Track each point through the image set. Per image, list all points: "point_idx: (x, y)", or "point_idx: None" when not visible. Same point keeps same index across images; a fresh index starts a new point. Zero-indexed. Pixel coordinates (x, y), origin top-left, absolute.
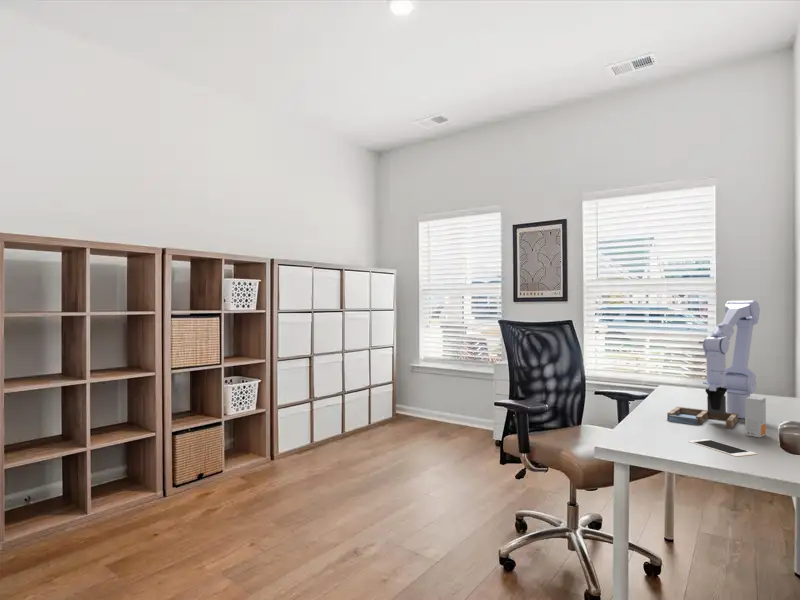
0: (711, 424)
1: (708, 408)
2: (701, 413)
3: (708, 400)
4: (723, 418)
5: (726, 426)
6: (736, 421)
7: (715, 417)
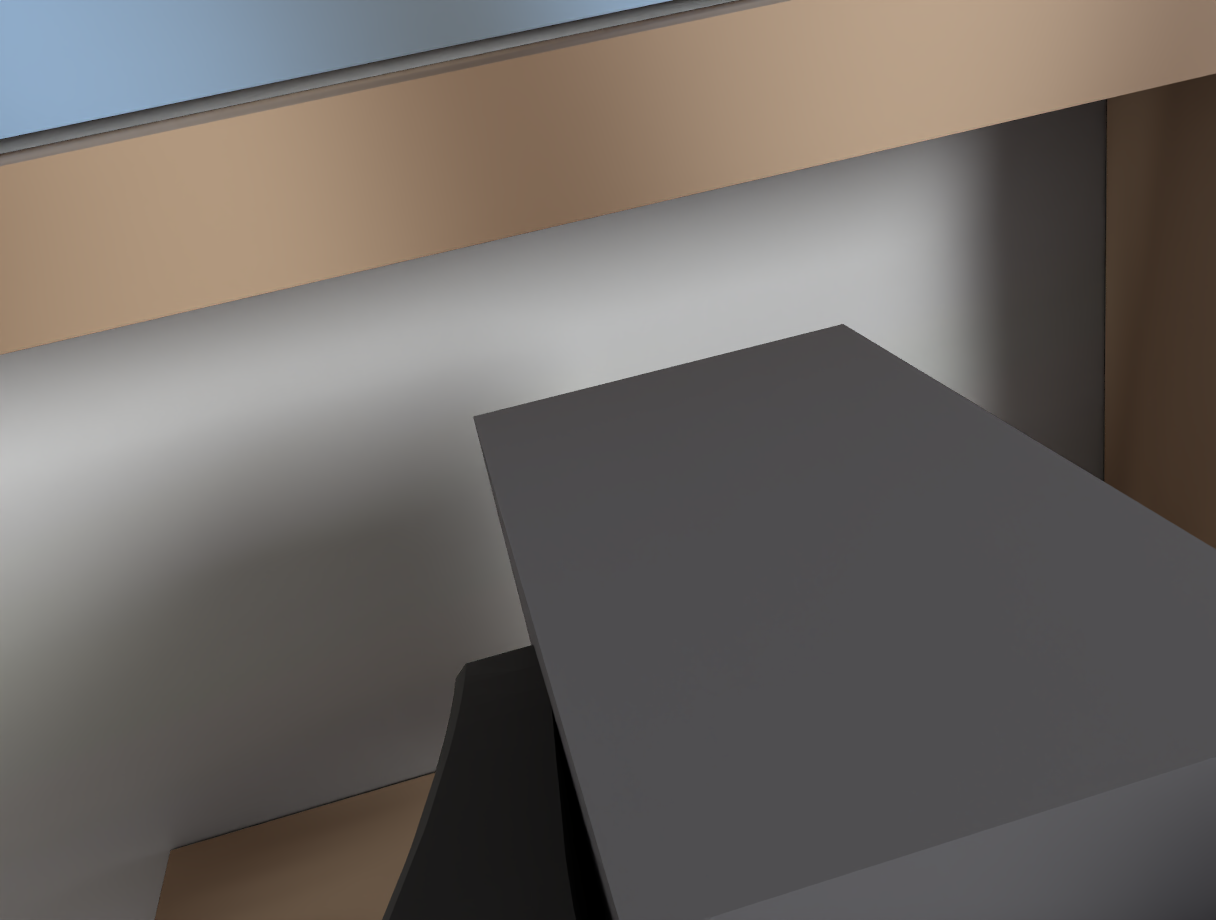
0: (254, 496)
1: (501, 514)
2: (627, 95)
3: (565, 747)
4: (1120, 425)
5: (168, 883)
6: None
7: (1126, 246)
